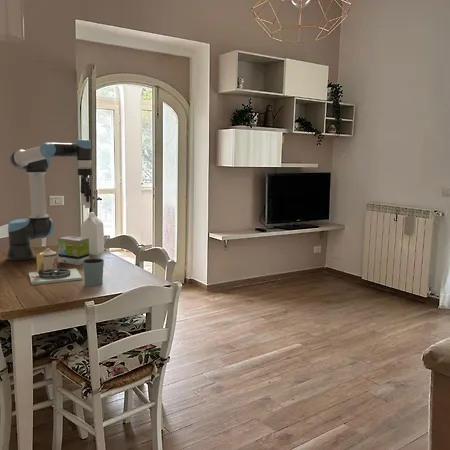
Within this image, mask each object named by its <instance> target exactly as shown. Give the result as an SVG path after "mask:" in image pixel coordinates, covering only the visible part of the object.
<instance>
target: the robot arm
mask: <svg viewBox="0 0 450 450" xmlns="http://www.w3.org/2000/svg"><path fill="white" fill-rule="evenodd" d="M58 157H59V158H77V159H76V165H77V166H76V167H77V168H78V169H77V175H78V176H80V190H79V191H80V197H81V198H80V203H81V206H84V208H85V209H91V195H92V194H91V186H90V185H91V184H90V177H89V176H92V175H93V169H92V164H93V161H92V143H91V140H90V139H77V140H76V143H73V142H43V143H41V144H40V145H38V146H35V147H32V148H31V147H30V148H27V149H19V150H13V152H12V153H11V154H10V156H9V161H10V165H11V166H13V167H14V168H15V169H18V170H21V171H22V170H23V171H25V172H26V174H27V175H28V176H29V177H28V180H29V193H30V210H31V214H30V216H29V217H28V218H18V219H14V220H11V221H9V222H8V226H7V233H8V250H7V252H6V260H7V261H10V262H13V261H14V262H23V261H29V260H33V259H34V258H35V254H34V253H35V252H34V251H33V248H32V246H31V240H37V239H46V238H49V237H51V236H52V234H53V233H54V229H55V224H54V222H53V219H51V218H50V215H49V214H48V213H47V200H46V186H45V184H46V183H45V174H47V170H48V169H50V166H51V158H58Z"/></svg>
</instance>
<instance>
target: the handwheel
mask: <svg viewBox="0 0 450 450" xmlns="http://www.w3.org/2000/svg"><path fill="white" fill-rule="evenodd" d="M35 255H36V272H37V273H38V274H39V277H42V278H61V277H66V276H68V275H70V273H71V271H70V270H68V269H69V268H57V269H48V270H44V264H43V253H41V252H39V253H38V252H37V253H36V254H35ZM60 271H63V272H60ZM49 275H51V276H49Z"/></svg>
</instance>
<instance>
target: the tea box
mask: <svg viewBox="0 0 450 450" xmlns="http://www.w3.org/2000/svg"><path fill="white" fill-rule="evenodd" d="M57 247H58V248H57V249H58V250H57V253H58V254H57V255H58V262H59V263H63V264H68V265H75V266H81V265H83V260H85V259H90V255H89V238H84V237H81V236H74V235H67V236H63V237H58V238H57Z"/></svg>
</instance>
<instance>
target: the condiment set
mask: <svg viewBox="0 0 450 450" xmlns="http://www.w3.org/2000/svg"><path fill="white" fill-rule="evenodd" d="M40 253H43V264H44V270H48V269H58V263H57V262H58V259H57V255H58V254H57V253H58V252H56V251H54V250H51V249H50V248H45V250H43V251H42V252H40Z"/></svg>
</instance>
